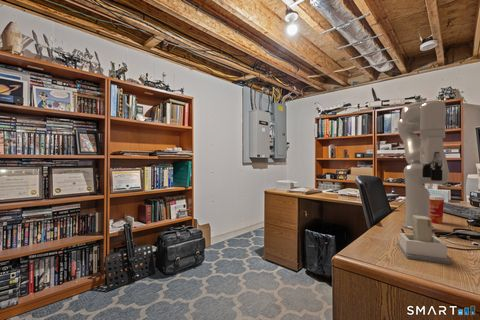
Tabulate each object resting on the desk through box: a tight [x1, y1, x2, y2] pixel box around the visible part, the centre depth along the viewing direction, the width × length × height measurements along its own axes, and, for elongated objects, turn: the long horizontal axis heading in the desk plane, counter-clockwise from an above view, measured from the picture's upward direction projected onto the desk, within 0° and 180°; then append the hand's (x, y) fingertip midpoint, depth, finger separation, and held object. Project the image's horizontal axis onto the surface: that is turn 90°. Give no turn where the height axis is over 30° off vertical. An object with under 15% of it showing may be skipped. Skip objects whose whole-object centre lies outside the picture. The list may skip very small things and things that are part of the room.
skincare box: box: [412, 215, 433, 242], centre depth 85 cm, size 6×4×12 cm
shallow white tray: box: [396, 232, 452, 265], centre depth 85 cm, size 14×12×6 cm
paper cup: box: [430, 195, 446, 225], centre depth 126 cm, size 8×8×14 cm
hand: (431, 178), depth 90 cm, fingers open, 9 cm apart
